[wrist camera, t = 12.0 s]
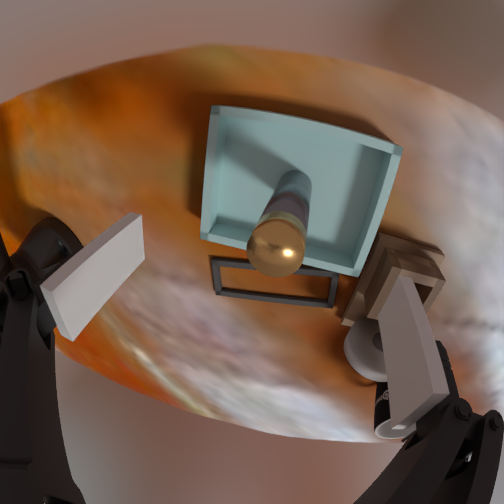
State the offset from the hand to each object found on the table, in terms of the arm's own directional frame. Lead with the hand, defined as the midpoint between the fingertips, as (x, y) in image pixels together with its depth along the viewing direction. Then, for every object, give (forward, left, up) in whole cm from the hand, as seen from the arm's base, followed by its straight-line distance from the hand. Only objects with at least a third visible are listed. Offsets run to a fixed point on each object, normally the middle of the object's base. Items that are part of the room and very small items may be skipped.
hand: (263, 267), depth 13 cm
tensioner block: (+13, -8, -14) cm, 21 cm away
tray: (0, 0, -14) cm, 14 cm away
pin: (0, 0, -13) cm, 13 cm away
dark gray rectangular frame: (0, -11, -14) cm, 18 cm away
